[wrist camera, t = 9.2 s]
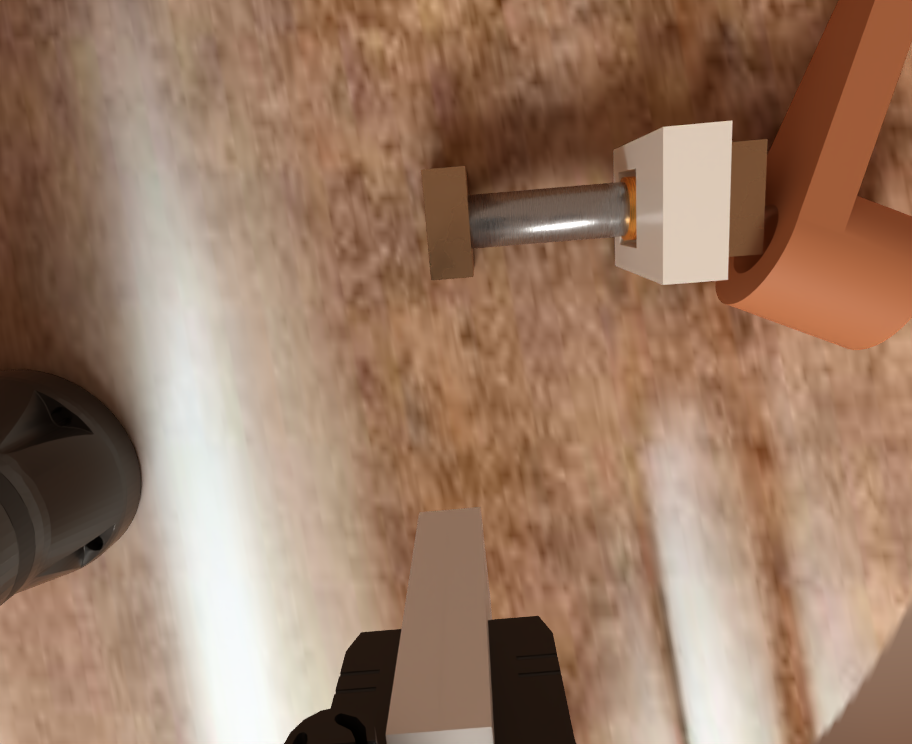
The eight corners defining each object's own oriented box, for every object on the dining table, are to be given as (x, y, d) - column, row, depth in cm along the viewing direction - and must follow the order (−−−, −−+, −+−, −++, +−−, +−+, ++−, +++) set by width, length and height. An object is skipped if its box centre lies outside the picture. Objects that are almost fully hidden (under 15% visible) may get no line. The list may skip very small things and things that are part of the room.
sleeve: (615, 265, 39) (662, 284, 29) (613, 150, 38) (663, 126, 27) (662, 262, 39) (727, 279, 29) (663, 145, 37) (732, 120, 27)
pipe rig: (437, 271, 40) (430, 280, 35) (429, 175, 39) (420, 169, 33) (724, 248, 39) (765, 254, 34) (727, 149, 38) (769, 138, 32)
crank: (812, 335, 41) (889, 363, 33) (701, 294, 40) (753, 314, 33) (976, 16, 36) (1112, -37, 28) (851, -33, 35) (955, -101, 28)
